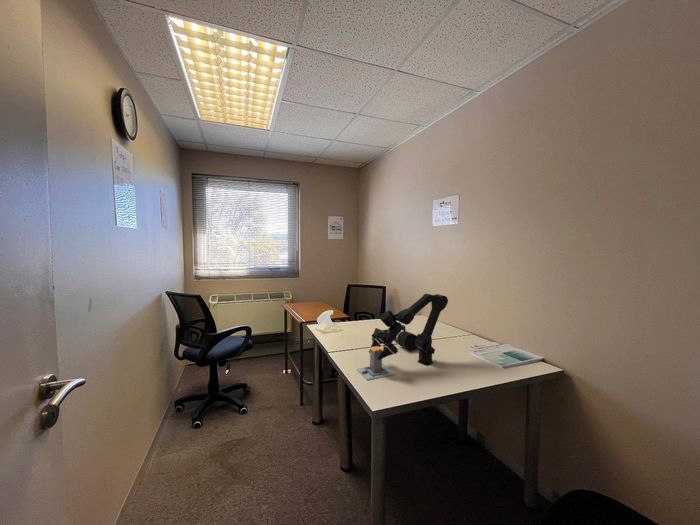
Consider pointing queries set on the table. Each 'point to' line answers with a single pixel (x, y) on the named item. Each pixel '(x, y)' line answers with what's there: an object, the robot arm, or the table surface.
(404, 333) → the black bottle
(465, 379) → the table surface
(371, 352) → the brick
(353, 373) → the table surface
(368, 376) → the charging dock
